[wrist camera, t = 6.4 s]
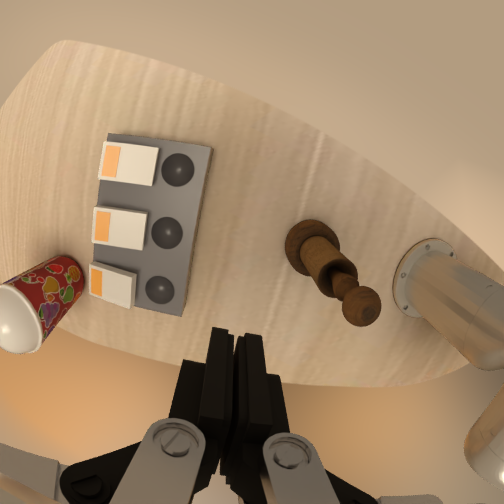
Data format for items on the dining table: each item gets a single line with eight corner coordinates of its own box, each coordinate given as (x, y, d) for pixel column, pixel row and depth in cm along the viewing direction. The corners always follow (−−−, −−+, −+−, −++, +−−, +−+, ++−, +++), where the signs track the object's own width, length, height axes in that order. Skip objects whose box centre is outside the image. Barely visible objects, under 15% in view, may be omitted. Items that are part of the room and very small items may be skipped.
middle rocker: (148, 212, 30) (146, 214, 29) (143, 247, 31) (142, 250, 30) (97, 204, 29) (93, 206, 27) (94, 239, 30) (91, 242, 28)
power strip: (213, 149, 32) (210, 146, 29) (185, 303, 38) (180, 318, 34) (119, 135, 31) (106, 132, 27) (103, 285, 36) (91, 297, 33)
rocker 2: (136, 274, 31) (131, 278, 30) (134, 305, 32) (129, 309, 31) (94, 261, 31) (88, 264, 30) (94, 290, 32) (88, 294, 31)
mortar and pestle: (275, 234, 36) (311, 300, 18) (322, 210, 35) (395, 254, 18) (297, 278, 38) (342, 366, 20) (341, 256, 37) (413, 325, 20)
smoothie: (40, 251, 34) (-52, 310, 15) (83, 243, 35) (-15, 309, 15) (56, 303, 37) (-19, 380, 18) (99, 300, 37) (25, 390, 18)
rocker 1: (159, 148, 28) (158, 147, 27) (152, 184, 29) (151, 186, 28) (106, 141, 27) (103, 141, 25) (100, 178, 28) (97, 179, 26)
